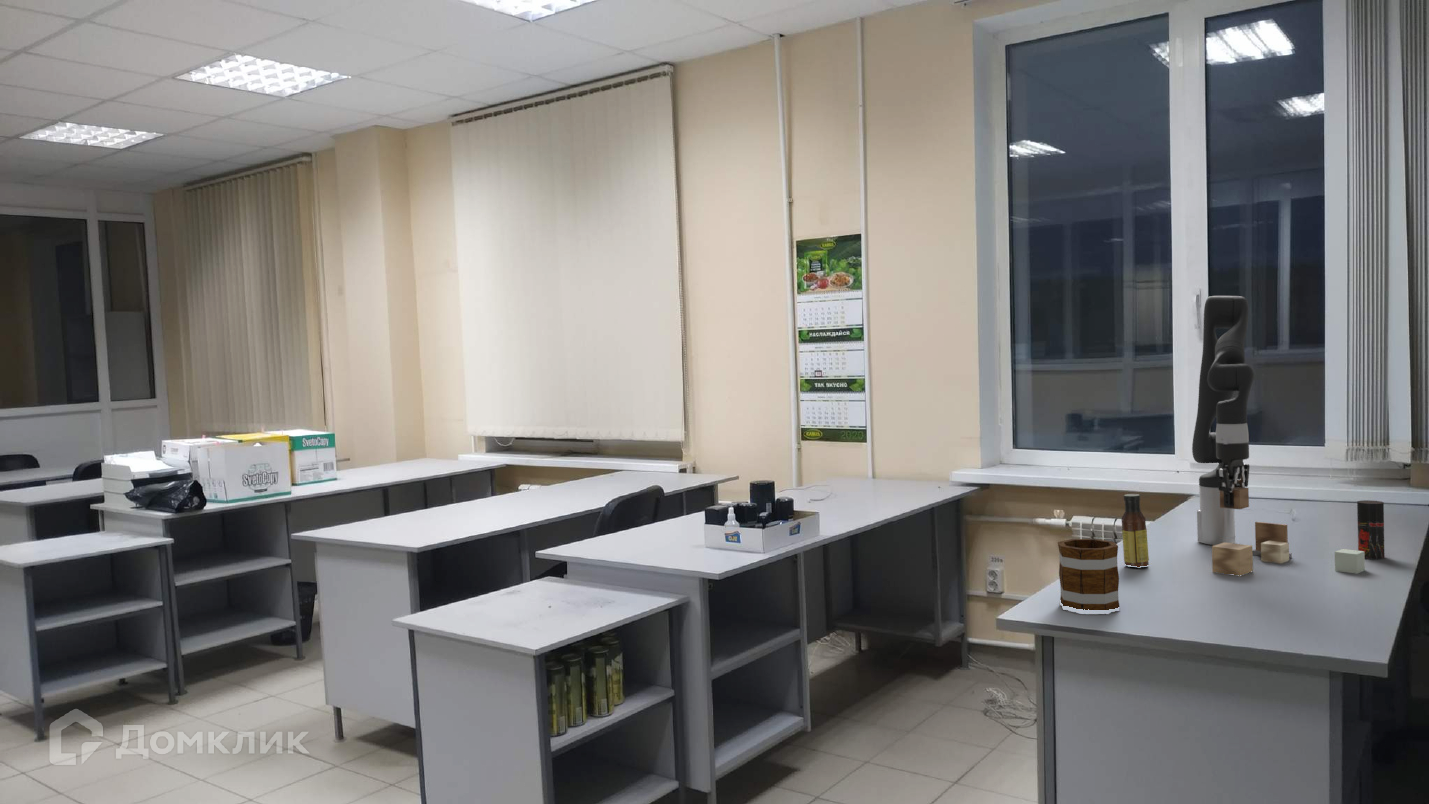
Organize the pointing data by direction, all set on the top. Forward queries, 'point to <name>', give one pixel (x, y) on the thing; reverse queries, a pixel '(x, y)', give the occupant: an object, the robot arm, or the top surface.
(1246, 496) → the walnut cube
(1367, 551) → the deodorant
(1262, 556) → the birch cube
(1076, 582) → the mug
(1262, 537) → the walnut card
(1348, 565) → the sage painted cube
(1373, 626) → the top surface
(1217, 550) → the oak base block
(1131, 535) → the sauce bottle
